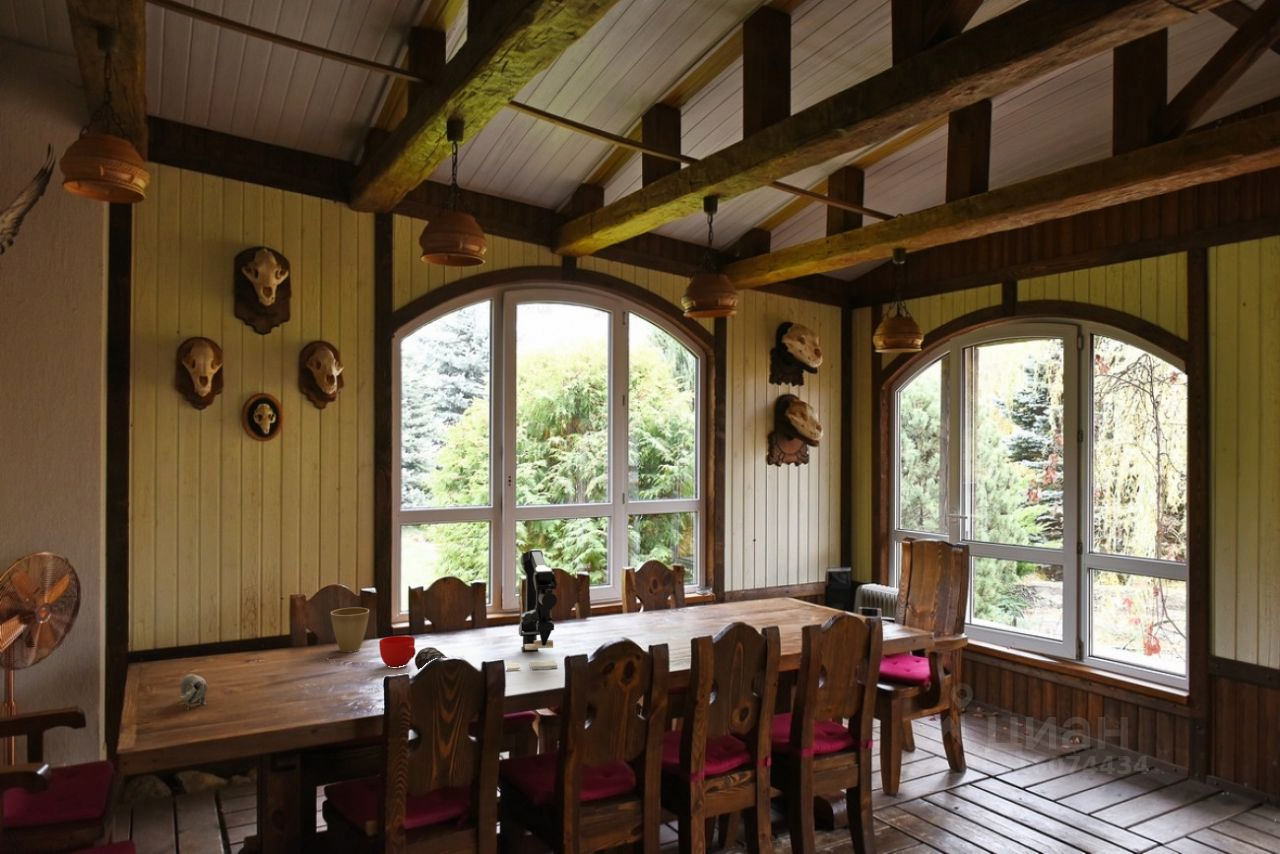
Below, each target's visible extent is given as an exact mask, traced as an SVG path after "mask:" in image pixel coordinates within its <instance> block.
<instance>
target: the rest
mask: <svg viewBox="0 0 1280 854" xmlns="http://www.w3.org/2000/svg"><path fill="white" fill-rule="evenodd" d="M529 665H530V666H529V668H531V669H538V670H542V669H541V668H557V669H558V663H557V661H556V660H542V661H540V660H539V661H529ZM531 669H530V670H531Z"/></svg>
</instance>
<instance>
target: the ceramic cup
mask: <svg viewBox="0 0 1280 854" xmlns="http://www.w3.org/2000/svg"><path fill="white" fill-rule="evenodd" d="M378 643H379V654H380V657H381V661H383V663H384V664H385V666H387V667H388V666H390V667H399V666H403V665H406V664H407V665H408V664H409V663H410V661H411V660H412V659H413V658H414V657H415V656H416V651H417V650H416V648H415V643H416V638H415V637H413V636H408V635H394V636H389V637H387V636H386V637H383V638H381V639H380V640H379V642H378ZM407 665H406V666H407Z"/></svg>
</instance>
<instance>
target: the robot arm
mask: <svg viewBox="0 0 1280 854" xmlns="http://www.w3.org/2000/svg"><path fill="white" fill-rule="evenodd" d="M543 554H544V553H543V551H542V549H540V548H539V549H536V548H535V549H529V550H528V551H526V552H524V553H522V554H521V556H520V565H521V568H522V570H523V572H524V574H525V610H524V612H523V613H521V614H520V616H521V617H520V618H521V621H519V625H518V635H519V636H520V637H522V646H521V647H520V648H521V651H522V652H525V653H526V652H539V648H537V649H533V650H525V647H524V644H534V640H537V639H538V636H539V637H540V638H539V639H540V640H541V641H542V646H545V645H546V643H547V640H549V637H550V635H551V634H552V631H554V630H555V624H554V622H553V620H552V617H553V616H552V610H553V608H555V606H556V604H557V602H558V597H557V596H556V595H555V594H554V593H553V590H557V586H558V582H557V579H556V575H555V572H554V571H553V569H552V568H551V567H549V566H547V564H546V562H545V559H544V555H543Z"/></svg>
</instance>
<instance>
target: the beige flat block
mask: <svg viewBox="0 0 1280 854" xmlns="http://www.w3.org/2000/svg"><path fill="white" fill-rule="evenodd" d="M524 647H525V650H533V649H537V648H538V649H552V648H554V641H553V639H548V640H547V643H546V645H545V646H542V641H541V639H539V640H534V644H524Z"/></svg>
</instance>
